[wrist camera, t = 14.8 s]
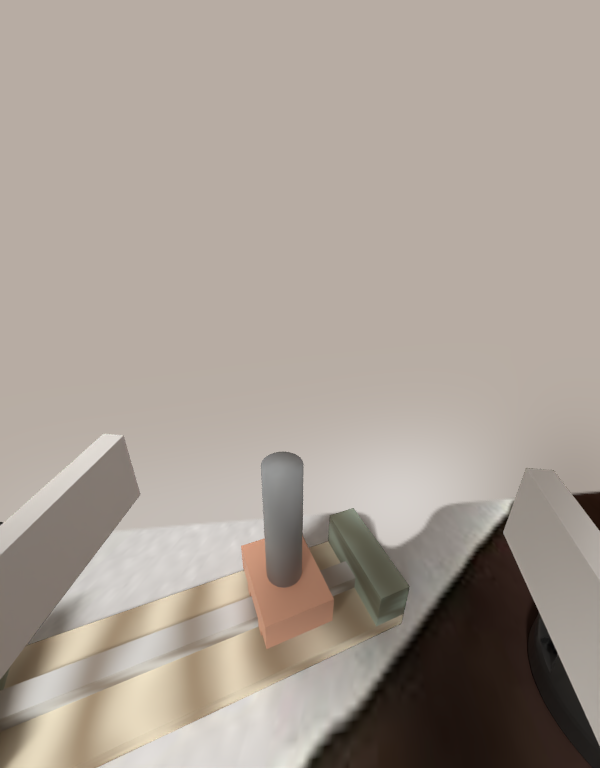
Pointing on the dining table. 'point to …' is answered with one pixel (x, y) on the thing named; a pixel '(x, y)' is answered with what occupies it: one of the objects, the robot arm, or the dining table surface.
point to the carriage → (284, 558)
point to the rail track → (182, 658)
